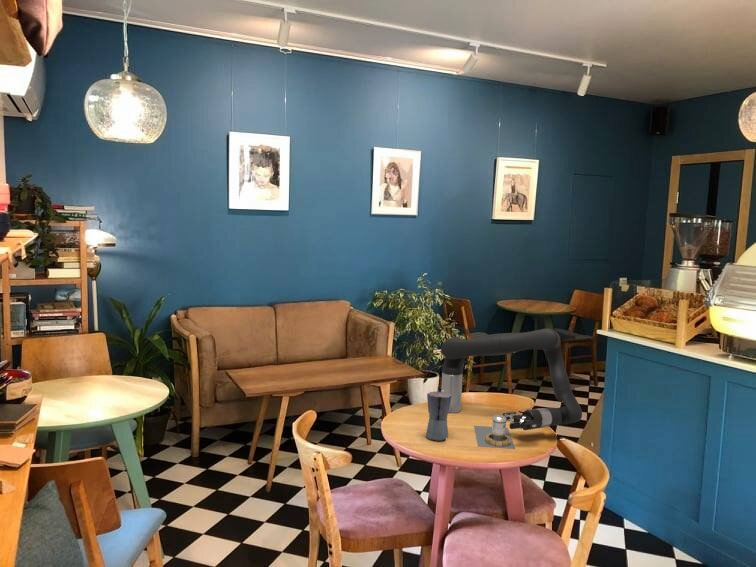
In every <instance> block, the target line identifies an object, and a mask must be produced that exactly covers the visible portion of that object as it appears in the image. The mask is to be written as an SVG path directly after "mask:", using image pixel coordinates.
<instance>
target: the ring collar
mask: <svg viewBox="0 0 756 567" xmlns="http://www.w3.org/2000/svg"><path fill="white" fill-rule="evenodd" d="M491 438H492V433H489V434H487V435H485V442H486V443H487V444H489V445H492V446H496V447H506V446H509V445H510V444H511V438H512V437H511V438H510V437H509V436H507V435H505V440H503V441H499V440H493V439H491Z"/></svg>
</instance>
